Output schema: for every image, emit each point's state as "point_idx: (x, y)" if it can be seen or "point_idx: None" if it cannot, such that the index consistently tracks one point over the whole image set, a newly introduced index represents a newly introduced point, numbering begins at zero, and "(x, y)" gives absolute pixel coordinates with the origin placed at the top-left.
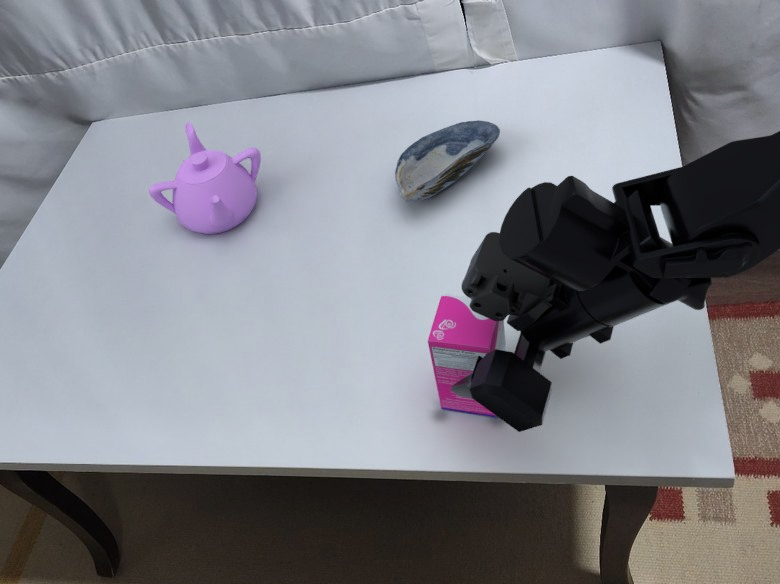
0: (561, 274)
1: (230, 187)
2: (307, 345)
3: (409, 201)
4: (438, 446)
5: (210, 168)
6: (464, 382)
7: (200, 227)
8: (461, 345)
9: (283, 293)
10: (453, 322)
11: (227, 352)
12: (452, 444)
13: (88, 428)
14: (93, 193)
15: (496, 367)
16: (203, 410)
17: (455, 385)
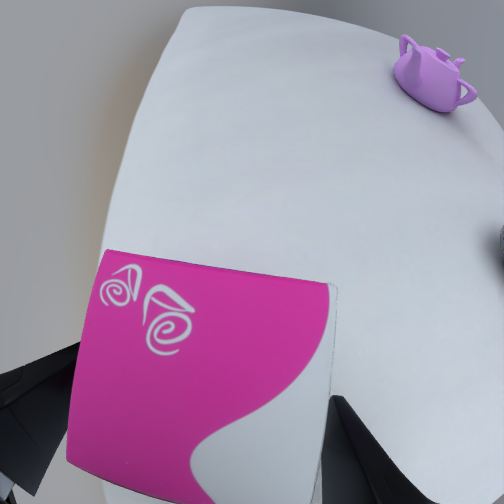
0: None
1: (437, 75)
2: (292, 143)
3: (500, 237)
4: None
5: (442, 61)
6: (37, 365)
7: (397, 70)
8: (75, 370)
9: (359, 122)
10: (176, 345)
11: (273, 86)
12: None
13: (193, 41)
14: (396, 45)
15: None
16: (201, 81)
17: (79, 346)
